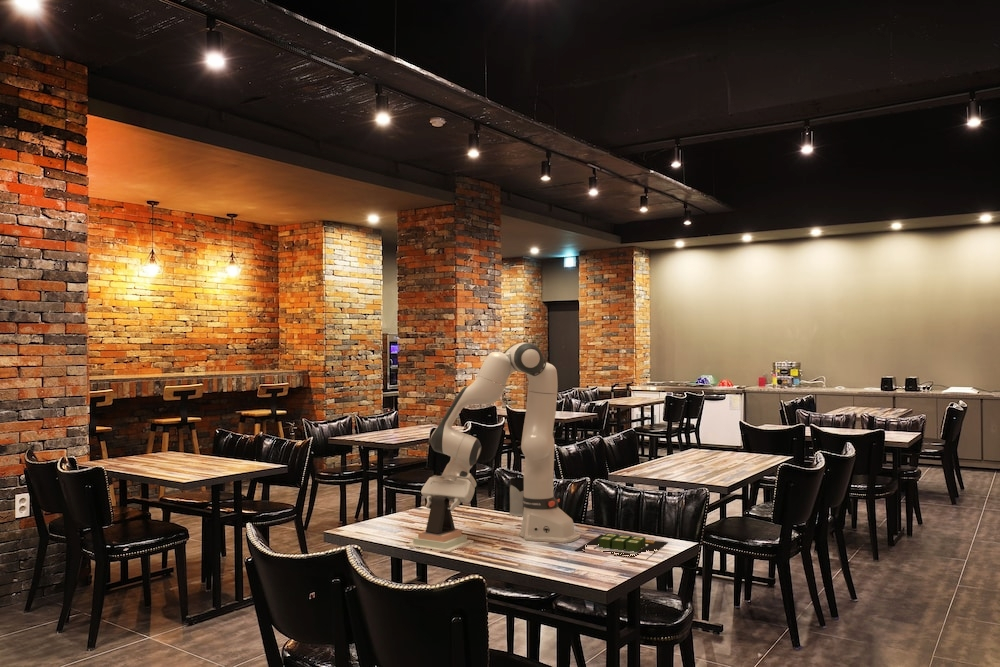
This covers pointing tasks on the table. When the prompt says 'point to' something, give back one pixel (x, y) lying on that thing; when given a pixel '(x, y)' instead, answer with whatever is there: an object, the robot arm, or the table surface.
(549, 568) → the table surface
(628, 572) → the table surface
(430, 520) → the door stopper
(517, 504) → the glass holder
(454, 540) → the base
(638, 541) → the sushi
